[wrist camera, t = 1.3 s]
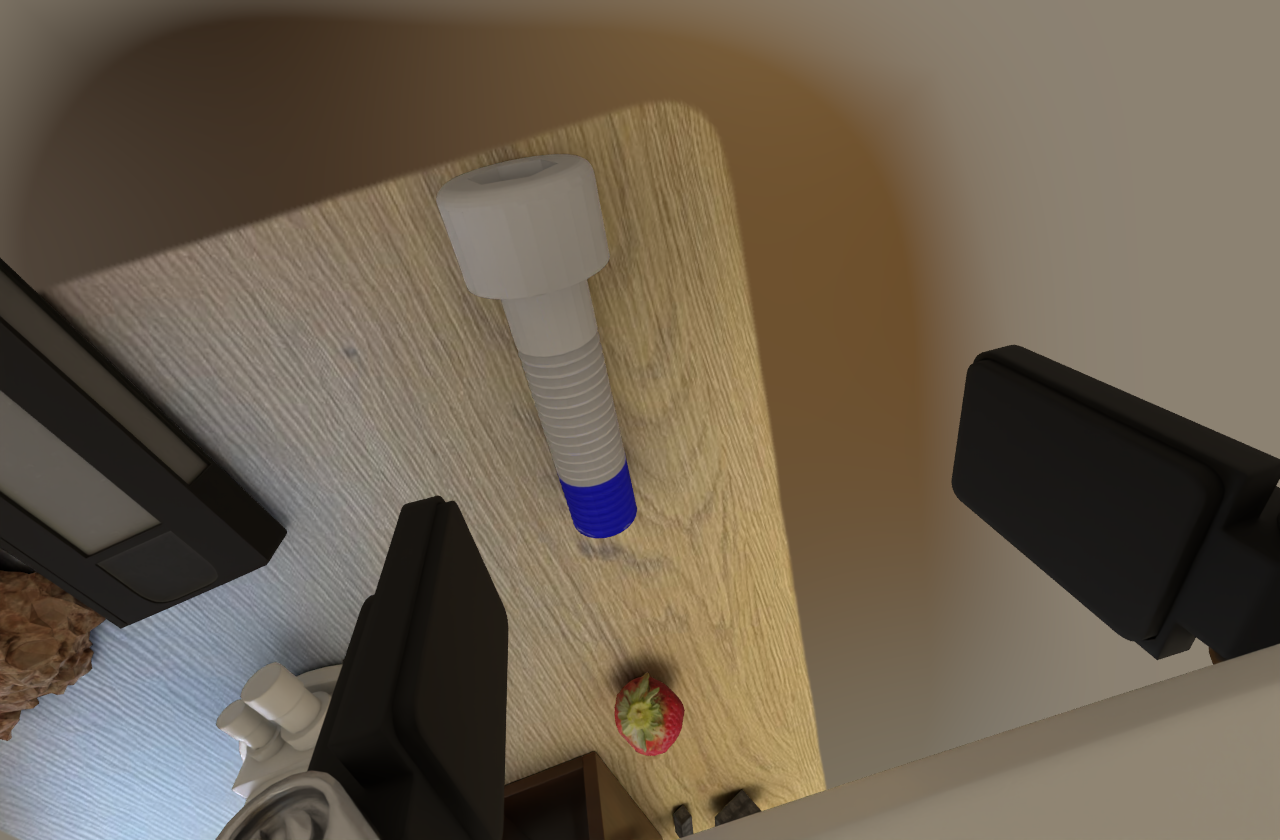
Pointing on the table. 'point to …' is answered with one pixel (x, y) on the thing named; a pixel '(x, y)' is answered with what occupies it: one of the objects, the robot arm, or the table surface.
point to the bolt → (550, 313)
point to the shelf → (573, 805)
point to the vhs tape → (109, 477)
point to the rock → (39, 643)
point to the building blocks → (731, 812)
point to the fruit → (648, 715)
